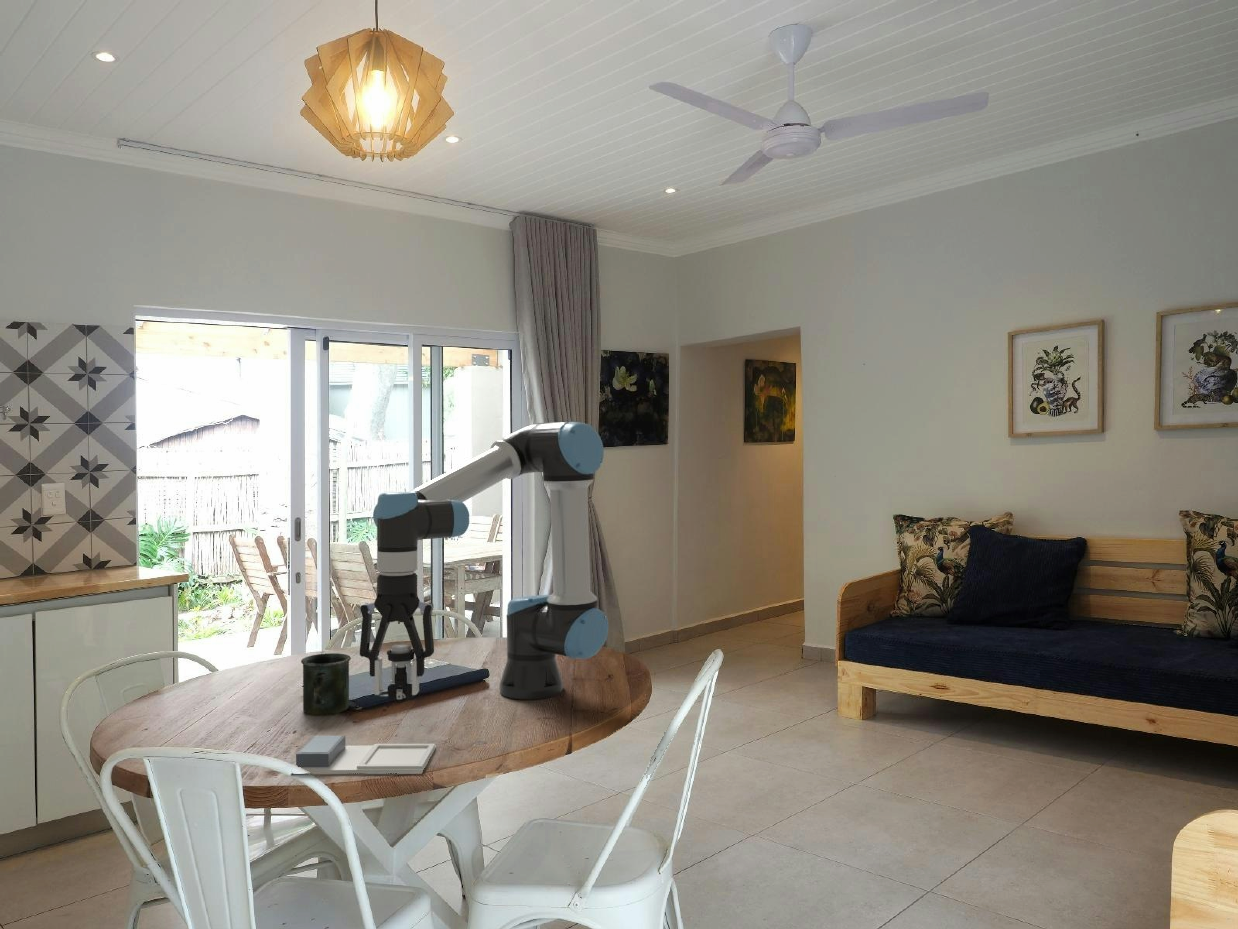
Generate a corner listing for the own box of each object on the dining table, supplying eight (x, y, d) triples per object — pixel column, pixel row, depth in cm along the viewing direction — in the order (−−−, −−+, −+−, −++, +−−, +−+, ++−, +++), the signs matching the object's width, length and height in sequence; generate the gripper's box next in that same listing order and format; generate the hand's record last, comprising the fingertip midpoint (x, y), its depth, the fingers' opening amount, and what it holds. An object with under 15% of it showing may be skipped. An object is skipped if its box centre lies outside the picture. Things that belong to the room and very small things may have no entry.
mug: (354, 703, 216) (354, 652, 215) (343, 721, 201) (342, 667, 201) (307, 704, 214) (307, 653, 214) (292, 723, 200) (291, 668, 200)
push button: (376, 702, 172) (376, 649, 172) (383, 694, 177) (383, 643, 177) (412, 701, 172) (412, 649, 172) (417, 694, 178) (417, 643, 178)
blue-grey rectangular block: (345, 748, 180) (345, 735, 180) (328, 767, 169) (328, 753, 169) (314, 748, 180) (314, 735, 180) (296, 767, 169) (296, 753, 169)
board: (435, 749, 182) (435, 742, 182) (421, 774, 168) (421, 767, 168) (314, 749, 182) (314, 743, 182) (290, 774, 168) (290, 767, 168)
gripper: (451, 570, 179) (450, 688, 179) (351, 570, 178) (351, 688, 179) (444, 575, 171) (444, 698, 171) (340, 575, 171) (340, 698, 171)
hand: (397, 692), depth 175 cm, fingers closed on push button, 6 cm apart
